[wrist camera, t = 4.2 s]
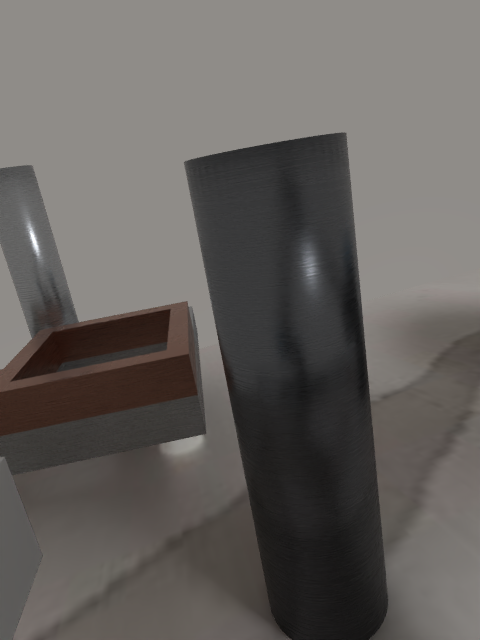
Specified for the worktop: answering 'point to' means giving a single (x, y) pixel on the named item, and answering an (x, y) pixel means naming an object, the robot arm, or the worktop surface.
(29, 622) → the worktop surface
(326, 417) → the pin
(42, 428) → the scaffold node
